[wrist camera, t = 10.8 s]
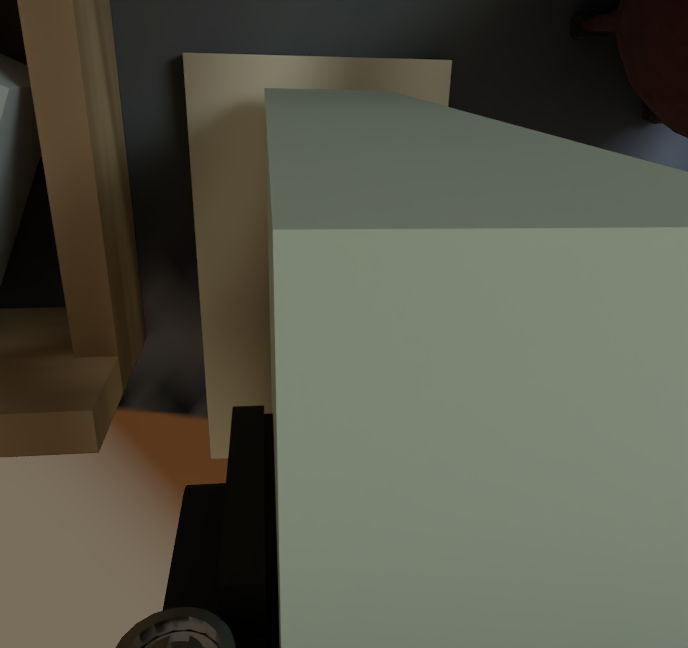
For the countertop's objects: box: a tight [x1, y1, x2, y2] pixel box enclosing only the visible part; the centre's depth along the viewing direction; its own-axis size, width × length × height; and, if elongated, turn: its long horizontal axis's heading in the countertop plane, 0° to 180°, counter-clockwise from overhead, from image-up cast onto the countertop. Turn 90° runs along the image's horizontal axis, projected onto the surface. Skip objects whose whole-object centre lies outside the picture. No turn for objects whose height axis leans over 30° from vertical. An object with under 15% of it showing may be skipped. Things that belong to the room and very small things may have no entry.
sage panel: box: [264, 88, 688, 648], centre depth 13 cm, size 4×12×16 cm, turn 179°
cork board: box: [183, 53, 452, 459], centre depth 21 cm, size 8×14×1 cm, turn 179°
